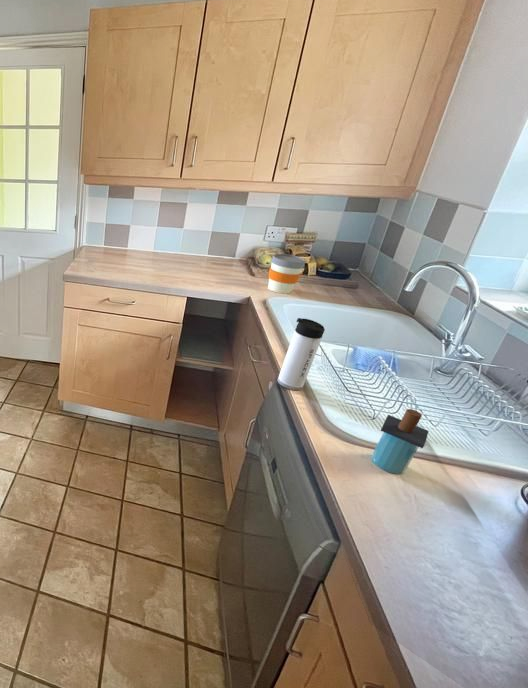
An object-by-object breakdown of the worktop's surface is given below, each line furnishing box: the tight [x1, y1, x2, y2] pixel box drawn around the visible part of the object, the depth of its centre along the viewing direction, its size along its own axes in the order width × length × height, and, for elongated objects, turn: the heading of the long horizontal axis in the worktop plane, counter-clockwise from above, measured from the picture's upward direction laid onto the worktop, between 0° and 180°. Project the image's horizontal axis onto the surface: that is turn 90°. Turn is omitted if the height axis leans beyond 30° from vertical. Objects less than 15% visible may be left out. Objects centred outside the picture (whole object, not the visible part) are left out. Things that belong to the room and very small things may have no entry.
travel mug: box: [277, 317, 326, 391], centre depth 115 cm, size 6×7×20 cm
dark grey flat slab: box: [380, 408, 429, 449], centre depth 87 cm, size 7×7×5 cm
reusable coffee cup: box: [267, 253, 306, 294], centre depth 183 cm, size 13×13×15 cm
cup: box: [370, 431, 420, 475], centre depth 90 cm, size 6×6×9 cm
